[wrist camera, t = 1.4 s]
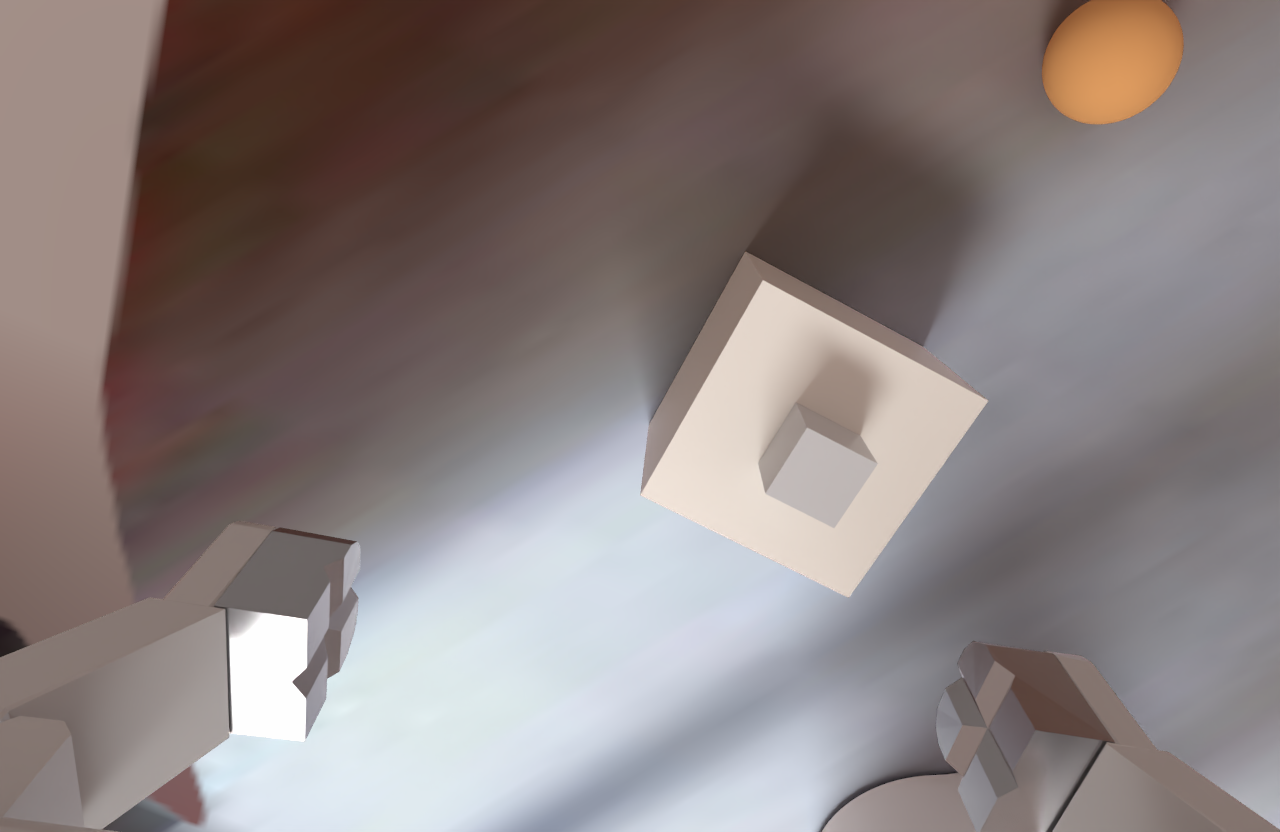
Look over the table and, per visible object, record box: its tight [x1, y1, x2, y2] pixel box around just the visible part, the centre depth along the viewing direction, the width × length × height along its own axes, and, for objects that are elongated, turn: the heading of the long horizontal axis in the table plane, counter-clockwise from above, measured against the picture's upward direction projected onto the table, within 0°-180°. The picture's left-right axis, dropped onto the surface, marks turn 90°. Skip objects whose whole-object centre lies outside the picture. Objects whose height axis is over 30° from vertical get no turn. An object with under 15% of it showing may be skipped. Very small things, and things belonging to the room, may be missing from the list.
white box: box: [640, 251, 988, 598], centre depth 35 cm, size 10×10×12 cm
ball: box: [1042, 0, 1184, 124], centre depth 32 cm, size 5×5×5 cm
